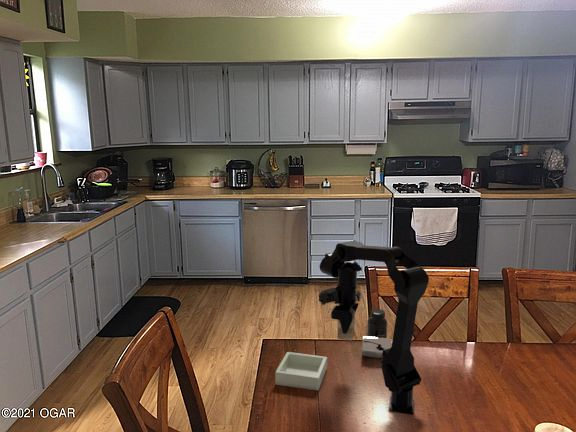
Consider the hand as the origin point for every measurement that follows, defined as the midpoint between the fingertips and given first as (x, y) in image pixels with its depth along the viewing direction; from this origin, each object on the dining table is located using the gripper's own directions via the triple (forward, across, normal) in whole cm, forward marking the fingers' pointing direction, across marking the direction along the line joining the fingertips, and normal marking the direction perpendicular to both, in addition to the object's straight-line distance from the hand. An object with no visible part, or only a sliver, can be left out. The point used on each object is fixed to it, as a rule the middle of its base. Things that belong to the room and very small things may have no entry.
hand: (346, 330), depth 149 cm
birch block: (+2, 0, 0) cm, 2 cm away
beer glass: (+10, -12, +19) cm, 25 cm away
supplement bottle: (+13, -20, +8) cm, 25 cm away
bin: (+13, +8, -12) cm, 19 cm away
